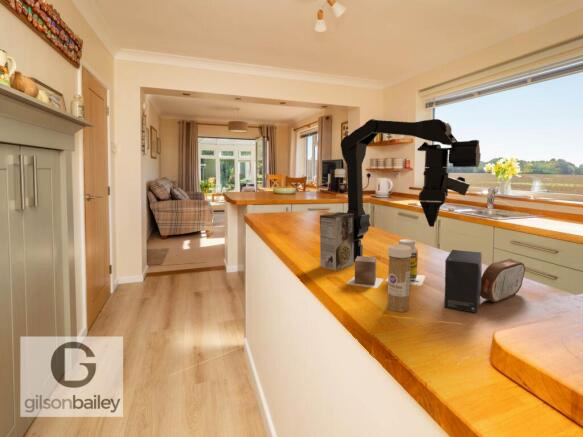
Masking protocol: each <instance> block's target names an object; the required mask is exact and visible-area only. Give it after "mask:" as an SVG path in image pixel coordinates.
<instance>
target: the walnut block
mask: <svg viewBox="0 0 583 437" xmlns="http://www.w3.org/2000/svg"><path fill="white" fill-rule="evenodd" d="M354 276H355V284H366V285H375V281H376V278H377V257H375V256H357V258H356V260H355V261H354Z"/></svg>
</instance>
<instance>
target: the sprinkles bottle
mask: <svg viewBox="0 0 583 437" xmlns="http://www.w3.org/2000/svg"><path fill="white" fill-rule="evenodd" d="M387 252H388V254H387V255H388V277H387V278H388V281H387V304H386V307H387V309H388V310H390V311H393V312H396V313H397V312H399V313H403V312H407V311H409V309H410V290H411V289H410V286H411V284H410V258H411V252H412V249H411V247H410V246H407V245H399V244H391V245H389V246H388V251H387Z"/></svg>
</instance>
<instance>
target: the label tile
mask: <svg viewBox="0 0 583 437" xmlns="http://www.w3.org/2000/svg"><path fill="white" fill-rule="evenodd" d="M425 279H426V275H423V274H417V278H416V279H415V280H411V281H410V286H418V287H419V286H420V287H421V286H423V283H424V281H425ZM384 281H385V282H388V277H387V278H386V279H384Z"/></svg>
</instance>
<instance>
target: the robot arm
mask: <svg viewBox="0 0 583 437" xmlns="http://www.w3.org/2000/svg"><path fill="white" fill-rule="evenodd" d="M379 134H383V135H384V134H385V135H394V136H396V135H397V136H408V137H416V138H418V139H422V140H425V141H424V142H423V143H422V144H421V145H420V146H419V147H418V148H416V150H417V152H418V151H419V152H425V155H424V171H423V174H422V175H423V186H422V190H421V191H420V192H419V193H418V201H419V204H420V207H421V209H422V211H423V213H424V216H425V218H426V222H427V224H428V226H429V227H430V228H434V227H435V223H436V222H437V220H438V215H439V213H440V208H441V206H442V205H443V206H444V204H445V202H446V200H447V198H448V194H449V191H451V192H455V193H458V194H459V195H461V196H464V197H465V196H466V195H467V194H466V193H467V192H468V190H469V187H470V185H471V184H470V183H469V182H466V178H465V177H462V176H458V177H457V178H454V177H451V176H449V174H450V173H449V172H448V163H449V164H450V165H451V164H452V166H453V168H479V166H480V163H481V158H482V157H481V156H482V155H481V154H482V153H481V152H480V150H481V149H480V140H478V139H472V140H466V141H465V140H464V141H458V140H457V138H456V137H455V136H454V135H453V133H452V126H451V125H450V123H449V122H447V121H445V120H443V119H438V118H433V119H425V120H419V121H415V122H413V121H412V122H411V121H399V120H398V121H397V120H382V119H381V120H380V119H379V120H378V119H375V118H372V119H368V121H366V122H365V123H364V124H363V125H361V126H359V127H358V128H357V129H354V130H353V131H352V132H351V133H350V134H348V135H345V136H344V137H343V138H342V140H341V141H340V150H341V156H342V157H343V160H344V162H345V164H346V182H347V185H346V186H347V211H346V213H349V214H354V262H355V260H356V258H357V256H363V248H364V246H363V244H362V240H363V238H364V236H365V234H367V232H368V231H369V229H370V227H371V223H370V222H371V221H370V216H371V215H370V213H366V212H365V210H364V195H363V194H364V192H363V188H364V187H363V163H364V160H365V157H366V154H367V146H369V145H370V144H371V143H372V142H373V141H374V140H375V138H376V137H377V136H378V135H379ZM426 141H429V142H434V143H437V144H430V143H428V142H426ZM441 144H442V145H443V146H444V145H445V146H450V147H442V146H441ZM363 257H364V256H363Z"/></svg>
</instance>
